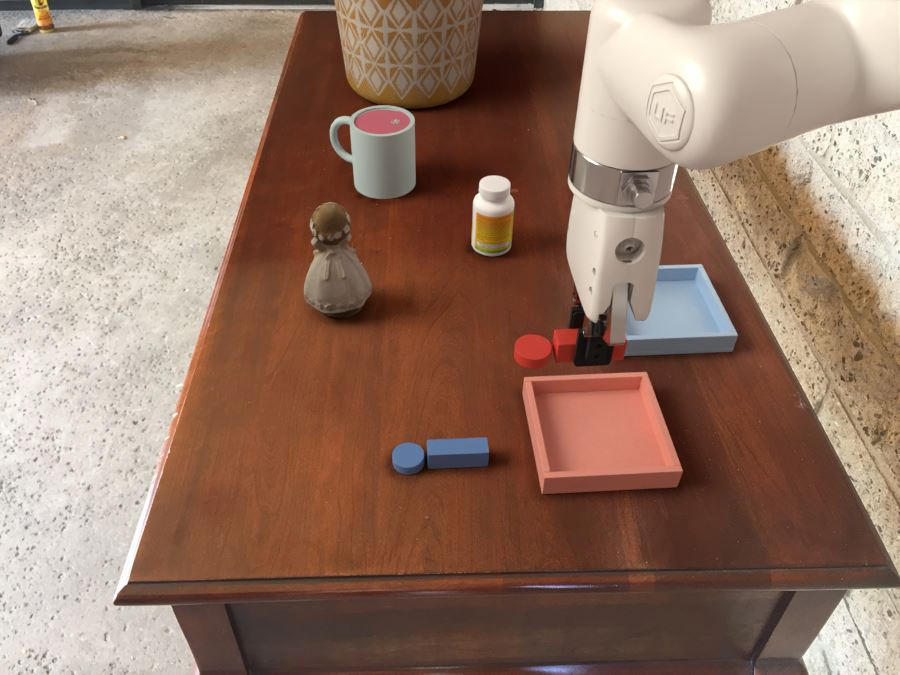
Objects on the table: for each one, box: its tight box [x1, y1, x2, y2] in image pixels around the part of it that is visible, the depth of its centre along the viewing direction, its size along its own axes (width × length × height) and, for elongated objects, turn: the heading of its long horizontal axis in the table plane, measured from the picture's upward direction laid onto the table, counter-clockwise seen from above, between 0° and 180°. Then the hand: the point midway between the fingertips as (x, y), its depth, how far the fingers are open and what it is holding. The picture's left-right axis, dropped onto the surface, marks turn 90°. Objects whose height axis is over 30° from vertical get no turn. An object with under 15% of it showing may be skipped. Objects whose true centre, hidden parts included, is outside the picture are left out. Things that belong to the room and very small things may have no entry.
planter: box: [333, 0, 484, 110], centre depth 133 cm, size 26×26×22 cm
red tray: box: [522, 371, 684, 495], centre depth 80 cm, size 13×13×3 cm
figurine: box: [303, 201, 373, 320], centre depth 90 cm, size 8×7×15 cm
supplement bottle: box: [471, 174, 515, 257], centre depth 102 cm, size 5×5×10 cm
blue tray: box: [624, 263, 739, 357], centre depth 94 cm, size 13×13×3 cm
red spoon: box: [513, 328, 627, 370], centre depth 67 cm, size 3×10×2 cm, turn 95°
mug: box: [329, 104, 417, 200], centre depth 114 cm, size 14×9×10 cm
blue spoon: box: [391, 436, 490, 476], centre depth 77 cm, size 3×10×2 cm, turn 94°
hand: (587, 351), depth 68 cm, fingers closed on red spoon, 2 cm apart
